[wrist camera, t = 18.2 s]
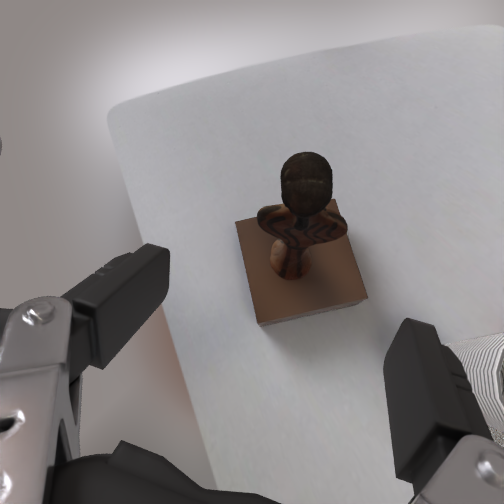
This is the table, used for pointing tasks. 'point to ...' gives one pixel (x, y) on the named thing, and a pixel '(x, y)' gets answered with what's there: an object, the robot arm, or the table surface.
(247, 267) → the walnut block
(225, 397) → the table surface
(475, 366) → the cup
